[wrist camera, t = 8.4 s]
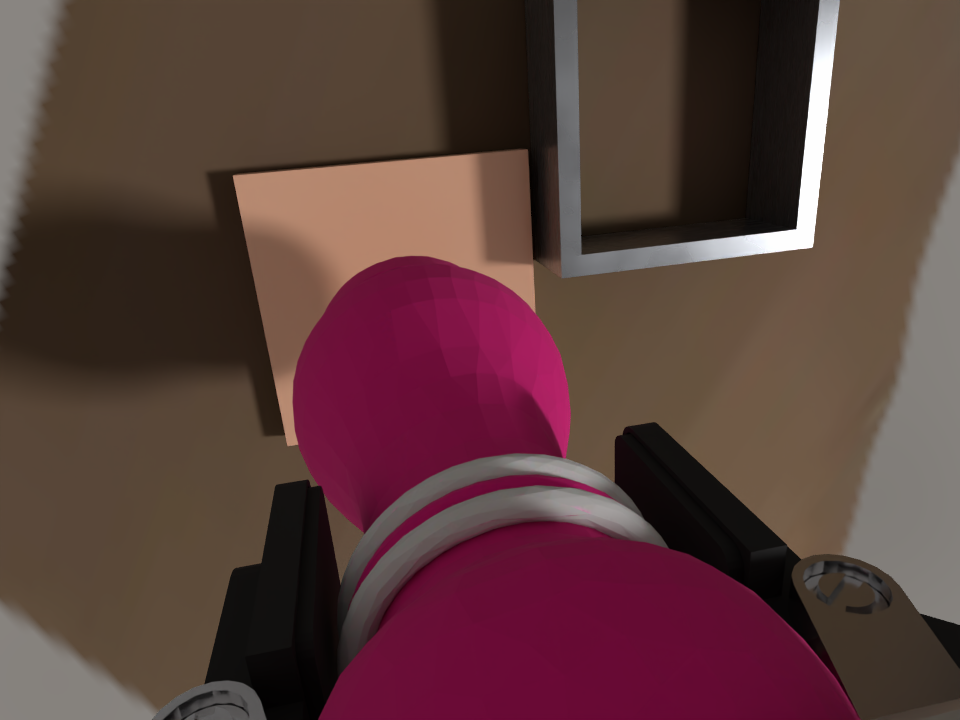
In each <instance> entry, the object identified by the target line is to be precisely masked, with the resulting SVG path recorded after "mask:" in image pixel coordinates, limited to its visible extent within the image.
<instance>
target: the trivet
mask: <svg viewBox="0 0 960 720" xmlns="http://www.w3.org/2000/svg"><path fill="white" fill-rule="evenodd" d="M233 179H234V184H235V189H236V194H237V199H238V204H239V209H240V214H241V219H242V223H243V228H244V233H245V238H246V243H247V248H248V253H249V258H250V263H251V268H252V273H253V278H254V283H255V288H256V293H257V297H258V302H259V307H260V312H261V317H262V322H263V327H264V332H265V337H266V342H267V347H268V352H269V357H270V362H271V366H272V371H273V376H274V381H275V386H276V391H277V396H278V401H279V406H280V411H281V416H282V421H283V426H284V431H285V435H286V440H287V445H288V446H292V445H298V441H297V437H296V433H295V428H294V416H293V403H292V399H293V380H294V375H295V371H296V366H297V361H298V359H299V356H300V354H301V351H302V349H303V346H304V344H305V342H306V340H307V338H308V336H309V335H310V333H311V331H312V329H313V328H314V326H315V325H316V323H317V322H318V321H319V320H320V318H321V317H322V316H323V314H324V312H325V310H326V308H327V306H328V305H329V303H330V302H331V300H332V299H333V297H334V296H335V295H336V293H337V292H338V291H339V289H340V288H341V287H342V286H343V285H344V284H345V283H346V282H347V281H348V280H350V279H351V278H352V277H353V276H355V275H356V274H357V273H359V272H361V271H362V270H364V269H366V268H368V267H370V266H372V265H374V264H376V263H379V262H382V261H385V260H388V259H392V258H395V257H403V256H429V257H433V258H437V259H441V260H444V261H448V262H451V263H453V264H455V265H457V266H459V267H462V268H467V269H470V270H473V271H476V272H479V273H481V274H484V275H486V276H489V277H491V278H493V279H495V280H497V281H498V282H500V283H502V284H503V285H505V286H506V287H508V288H510V289H511V290H513V291H514V292H515V293H516V294H517V295H518V296H519V297H521V298H522V299H523V300H524V301H525V302H526V303H527V304H528V305H529V306H530V307H531V309H532V310H533V311H534V312H535V294H534V272H533V250H532V227H531V205H530V183H529V160H528V149H510V150H499V151H487V152H476V153H465V154H454V155H442V156H431V157H420V158H408V159H397V160H386V161H375V162H363V163H352V164H341V165H329V166H318V167H307V168H296V169H284V170H273V171H262V172H250V173H239V174H235V175H233Z"/></svg>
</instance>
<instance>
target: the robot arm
mask: <svg viewBox="0 0 960 720" xmlns="http://www.w3.org/2000/svg"><path fill="white" fill-rule="evenodd" d="M615 484H616V485H618V486H619V487H620V488H621V489H622V490H623V491H624V492H625V493H626V494H627V495H628V496H629V497H630V498H631V499H632V501H633V502H634V504H635V505H636V506H637V508H638V509H639V511H640V512H641V514H642V516H643V518H644V520H645V521H646V522H648V523H649V524H650V525H652V527H653V528H654V529H655V530H656V531H657V532H658V533H659V535H660V536H661V537H662V539H663V540H664V542H665V543H666V545H667V546H668V548H669V549H672V550H675V551H679V552H682V553H686V554H689V555H691V556H693V557H695V558H697V559H699V560H701V561H703V562H705V563H707V564H709V565H711V566H713V567H714V568H716V569H718V570H719V571H721V572H723V573H724V574H726V575H727V576H729V577H731V578H732V579H734V580H736V581H737V582H739V583H741V584H742V585H744V586H745V587H747V588H749V589H750V590H752V591H754V592H755V593H756V594H757V595H758V596H759V597H760V598H761V599H762V600H763V601H764V602H765V603H766V604H767V605H768V606H769V607H771V608H772V609H773V610H774V611H775V612H776V613H777V614H778V615H779V616H780V617H781V618H782V619H783V620H784V621H785V622H786V623H787V624H788V625H789V626H790V627H791V628H792V629H793V630H795V631H796V632H797V633H798V634H799V635H800V636H801V637H802V638H803V639H804V640H805V641H806V643H807V644H808V645H809V646H810V648H811V649H812V650H813V651H814V652H815V654H816V655H817V656H818V657H819V658H820V660H821V661H822V662H823V663H824V665H825V666H826V667H827V668H828V669H829V671H830V672H831V673H832V674H833V675H834V677H835V678H836V680H837V681H838V683H839V685H840V686H841V688H842V689H843V691H844V693H845V694H846V696H847V697H848V699H849V701H850V702H851V704H852V705H853V707H854V709H855V710H856V712H857V713H858V715H859V717H860V719H861V720H960V625H957V624H954V623H951V622H947V621H944V620H940V619H937V618H933V617H930V616H927V615H923V614H920V613H919V612H918V611H917V609H916V608H915V607H914V605H913V604H912V602H911V601H910V599H909V598H908V597H907V595H906V594H905V593H904V591H903V590H902V588H901V587H900V586H899V585H898V584H897V583H896V582H895V581H894V580H893V579H892V577H890V576H889V575H888V574H886V573H884V572H883V571H882V570H880V569H878V568H877V567H875V566H873V565H870V564H868V563H866V562H863V561H861V560H858V559H854V558H850V557H847V556H841V555H831V554H823V555H813V556H810V557H807V558H805V559H802V560H801V559H800V558H799V557H798V556H797V555H796V554H795V553H794V552H793V551H792V550H791V549H790V548H789V547H787V544H786V543H785V542H783V541H782V540H781V539H780V538H779V537H778V536H777V535H776V534H775V533H774V532H773V531H772V530H771V529H770V528H768V527H767V526H766V525H765V524H764V523H763V522H762V521H761V520H760V519H759V518H758V517H757V516H756V515H755V514H753V513H752V512H751V511H750V510H749V509H748V508H747V507H746V506H745V505H744V504H743V503H742V502H741V501H740V500H738V499H737V498H736V497H735V496H734V495H733V494H732V493H731V492H730V491H729V490H728V489H727V488H726V487H725V486H723V485H722V484H721V483H720V482H719V481H718V480H717V479H716V478H715V477H714V476H713V475H712V474H711V473H710V472H708V471H707V470H706V469H705V468H704V467H703V466H702V465H701V464H700V463H699V462H698V461H697V460H696V459H695V458H693V457H692V456H691V455H690V454H689V453H688V452H687V451H686V450H685V449H684V448H683V447H682V446H681V445H680V444H678V443H677V442H676V441H675V440H674V439H673V438H672V437H671V436H670V435H669V434H668V433H667V432H666V431H665V430H663V429H662V428H661V427H660V426H659V425H658V424H657V423H655V422H653V423H647V424H641V425H634V426H628V427H626V428H625V429H624V431H623V435H620V436H617V437H616V439H615ZM340 587H341V585H340V579H339V574H338V569H337V563H336V558H335V552H334V547H333V542H332V536H331V531H330V525H329V520H328V515H327V509H326V504H325V498H324V493H323V489H322V486H316V487H311V486H310V482H309V480H302V481H296V482H290V483H284V484H278V485H276V486H275V491H274V496H273V502H272V508H271V513H270V519H269V524H268V530H267V535H266V541H265V546H264V552H263V558H262V563H261V564H255V565H250V566H244V567H239V568H235V569H234V570H233V572H232V574H231V577H230V581H229V585H228V589H227V594H226V598H225V602H224V606H223V610H222V614H221V618H220V622H219V626H218V631H217V635H216V639H215V643H214V647H213V651H212V655H211V659H210V663H209V668H208V672H207V676H206V680H205V684H204V685H201V686H198V687H195V688H192V689H190V690H189V691H187V692H185V693H183V694H181V695H179V696H178V697H176V698H174V699H173V700H172V701H171V702H169V703H168V704H167V705H166V706H164V707H163V708H162V709H161V710H160V711H159V712H158V713H157V714H156V715H155V716H154V718H153V719H152V720H318V719H319V716H320V714H321V712H322V710H323V708H324V706H325V704H326V702H327V700H328V698H329V696H330V694H331V692H332V690H333V688H334V686H335V684H336V682H337V680H338V672H337V649H338V644H339V636H338V628H337V608H338V596H339V592H340Z"/></svg>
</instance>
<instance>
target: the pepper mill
mask: <svg viewBox="0 0 960 720" xmlns="http://www.w3.org/2000/svg"><path fill="white" fill-rule="evenodd" d="M292 403H293V416H294V428H295V433H296V437H297V441H298V445H299V449H300V452H301V454H302V456H303V458H304V460H305V462H306V465H307V467H308V469H309V471H310V473H311V475H312V476H313V478H314V479H315V481H316V482H317V484H318V485H319V486H322V489H323V493H324V494H325V496H326V497H327V498H328V500H329V501H330V502H331V503H332V504H333V505H334V506H335V507H336V508H337V509H338V510H339V511H340V512H341V513H342V514H343V515H344V516H345V517H346V518H347V519H348V520H349V521H350V522H352V523H353V524H354V525H355V526H356V527H358V528H359V529H360V530H361V531H362V532H364V536H363V537H362V538H361V540H360V542H359V544H358V545H357V547H356V549H355V551H354V552H353V554H352V556H351V558H350V561H349V563H348V566H347V568H346V571H345V573H344V576H343V578H342V582H341V587H340V592H339V596H338V608H337V628H338V636H339V644H338V649H337V672H338V680H337V682H336V684H335V686H334V688H333V690H332V692H331V694H330V696H329V698H328V700H327V702H326V704H325V706H324V708H323V710H322V712H321V714H320V716H319V719H318V720H861V719H860V717H859V715H858V713H857V712H856V710H855V709H854V707H853V705H852V704H851V702H850V701H849V699H848V697H847V696H846V694H845V693H844V691H843V689H842V688H841V686H840V685H839V683H838V681H837V680H836V678H835V677H834V675H833V674H832V673H831V672H830V671H829V669H828V668H827V667H826V666H825V665H824V663H823V662H822V661H821V660H820V658H819V657H818V656H817V655H816V654H815V652H814V651H813V650H812V649H811V648H810V646H809V645H808V644H807V643H806V641H805V640H804V639H803V638H802V637H801V636H800V635H799V634H798V633H797V632H796V631H795V630H793V629H792V628H791V627H790V626H789V625H788V624H787V623H786V622H785V621H784V620H783V619H782V618H781V617H780V616H779V615H778V614H777V613H776V612H775V611H774V610H773V609H772V608H771V607H769V606H768V605H767V604H766V603H765V602H764V601H763V600H762V599H761V598H760V597H759V596H758V595H757V594H756V593H755V592H754V591H752V590H750V589H749V588H747V587H745V586H744V585H742V584H741V583H739V582H737V581H736V580H734V579H732V578H731V577H729V576H727V575H726V574H724V573H723V572H721V571H719V570H718V569H716V568H714V567H713V566H711V565H709V564H707V563H705V562H703V561H701V560H699V559H697V558H695V557H693V556H691V555H689V554H686V553H682V552H679V551H675V550H672V549H669V548H668V546H667V545H666V543H665V542H664V540H663V539H662V537H661V536H660V535H659V533H658V532H657V531H656V530H655V529H654V528H653V527H652V525H650V524H649V523H648V522H646V521H645V520H644V518H643V516H642V514H641V512H640V511H639V509H638V508H637V506H636V505H635V504H634V502H633V501H632V499H631V498H630V497H629V496H628V495H627V494H626V493H625V492H624V491H623V490H622V489H621V488H620V487H619V486H618V485H616V484H615V483H614V482H612V481H611V480H610V479H608V478H607V477H606V476H604V475H603V474H602V473H599V472H597V471H595V470H593V469H591V468H589V467H587V466H584V465H582V464H579V463H577V462H574V461H571V460H568V459H566V452H567V445H568V439H569V432H570V416H571V412H570V402H569V393H568V384H567V379H566V375H565V371H564V367H563V363H562V359H561V355H560V353H559V351H558V349H557V347H556V345H555V343H554V341H553V339H552V337H551V335H550V333H549V332H548V330H547V329H546V327H545V326H544V325H543V323H542V322H541V320H540V319H539V317H538V316H537V315H536V314H535V312H534V311H533V310H532V309H531V307H530V306H529V305H528V304H527V303H526V302H525V301H524V300H523V299H522V298H521V297H519V296H518V295H517V294H516V293H515V292H514V291H513V290H511V289H510V288H508V287H506V286H505V285H503V284H502V283H500V282H498V281H497V280H495V279H493V278H491V277H489V276H486V275H484V274H481V273H479V272H476V271H473V270H470V269H467V268H462V267H459V266H457V265H455V264H453V263H451V262H448V261H444V260H441V259H437V258H433V257H429V256H403V257H395V258H392V259H388V260H385V261H382V262H379V263H376V264H374V265H372V266H370V267H368V268H366V269H364V270H362V271H361V272H359V273H357V274H356V275H355V276H353V277H352V278H351V279H350V280H348V281H347V282H346V283H345V284H344V285H343V286H342V287H341V288H340V289H339V291H338V292H337V293H336V295H335V296H334V297H333V299H332V300H331V302H330V303H329V305H328V306H327V308H326V310H325V312H324V314H323V316H322V317H321V318H320V320H319V321H318V322H317V323H316V325H315V326H314V328H313V329H312V331H311V333H310V335H309V336H308V338H307V340H306V342H305V344H304V346H303V349H302V351H301V354H300V356H299V359H298V361H297V366H296V371H295V375H294V380H293V399H292Z"/></svg>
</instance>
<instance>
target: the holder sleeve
mask: <svg viewBox="0 0 960 720" xmlns="http://www.w3.org/2000/svg"><path fill="white" fill-rule="evenodd" d="M839 2H840V0H761V14H760V28H759V42H758V55H757V69H756V83H755V97H754V111H753V125H752V139H751V152H750V166H749V180H748V194H747V208H746V218H741V219H732V220H723V221H714V222H705V223H696V224H688V225H679V226H670V227H661V228H652V229H643V230H635V231H626V232H617V233H608V234H599V235H590V236H582V237H581V200H580V143H579V87H578V31H577V0H525V22H526V46H527V69H528V92H529V115H530V138H531V161H532V184H533V207H534V230H535V253H536V261H537V262H539V263H540V264H542V265H543V266H545V267H546V268H547V269H549V270H550V271H552V272H553V273H555V274H556V275H558V276H559V277H561V278H568V277H576V276H585V275H593V274H601V273H609V272H617V271H625V270H633V269H641V268H649V267H657V266H666V265H674V264H682V263H690V262H698V261H706V260H714V259H722V258H730V257H738V256H746V255H755V254H763V253H771V252H779V251H787V250H795V249H803V248H811V247H813V238H814V229H815V220H816V211H817V202H818V193H819V184H820V175H821V166H822V156H823V147H824V138H825V129H826V120H827V111H828V102H829V93H830V84H831V75H832V66H833V57H834V48H835V39H836V29H837V20H838V11H839Z"/></svg>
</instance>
